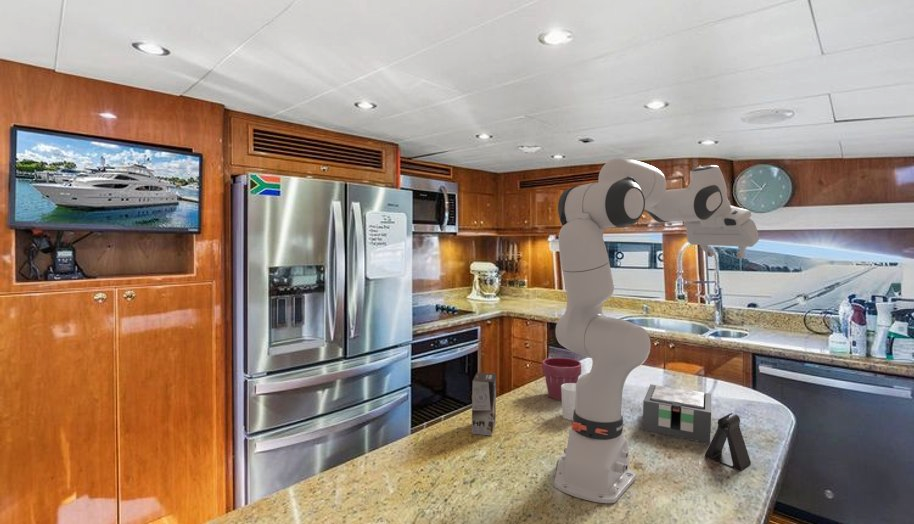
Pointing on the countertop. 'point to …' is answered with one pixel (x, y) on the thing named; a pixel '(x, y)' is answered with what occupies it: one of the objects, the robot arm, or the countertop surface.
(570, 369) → the plant pot
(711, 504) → the countertop surface
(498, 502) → the countertop surface
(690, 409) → the scale housing
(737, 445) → the phone stand
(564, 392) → the white cup
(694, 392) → the pan
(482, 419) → the coffee box
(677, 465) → the countertop surface
